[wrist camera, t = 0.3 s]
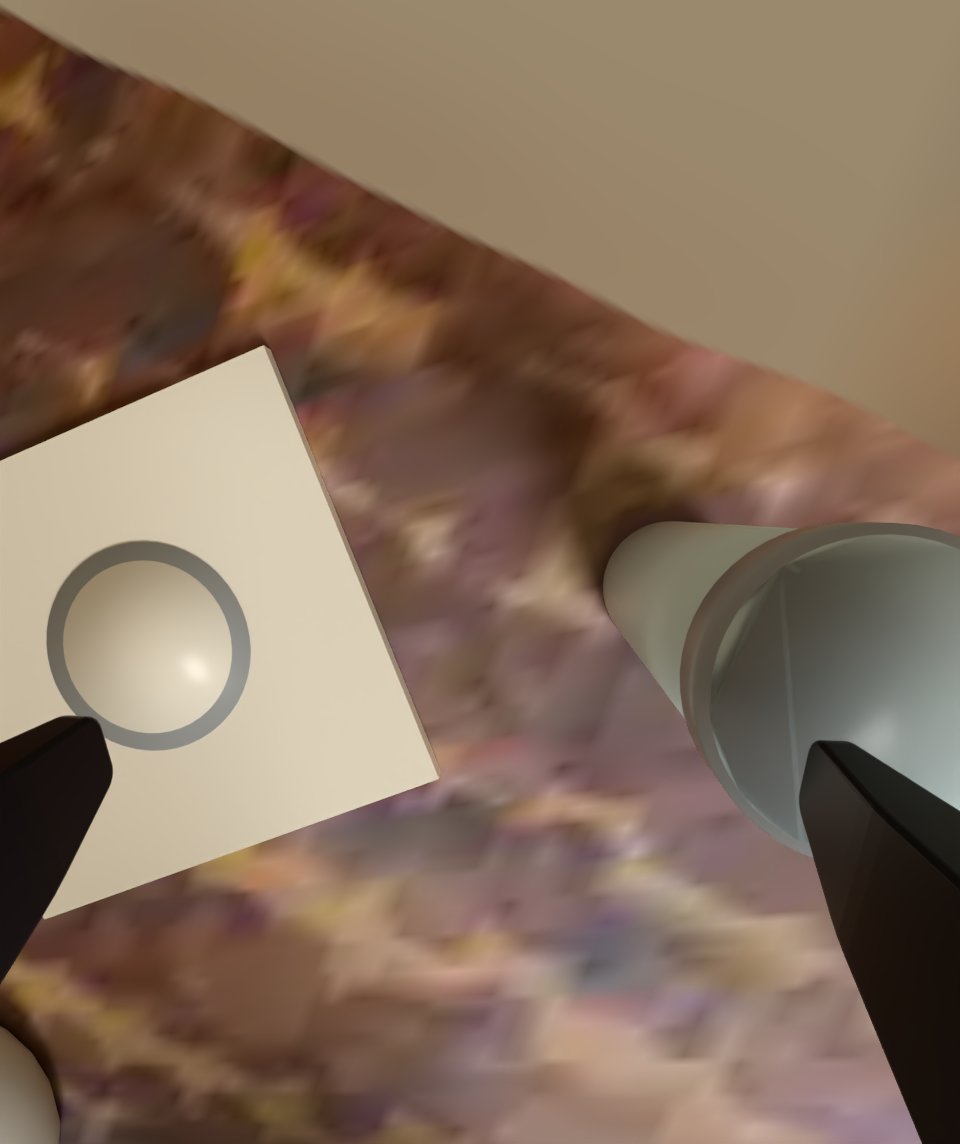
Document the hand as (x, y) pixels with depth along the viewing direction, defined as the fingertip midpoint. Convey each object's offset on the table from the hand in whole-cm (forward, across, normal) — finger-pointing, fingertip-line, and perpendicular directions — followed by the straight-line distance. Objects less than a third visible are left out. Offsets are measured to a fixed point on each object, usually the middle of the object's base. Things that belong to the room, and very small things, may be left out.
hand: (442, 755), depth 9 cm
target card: (+14, +12, +7) cm, 20 cm away
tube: (+14, -6, +4) cm, 16 cm away
